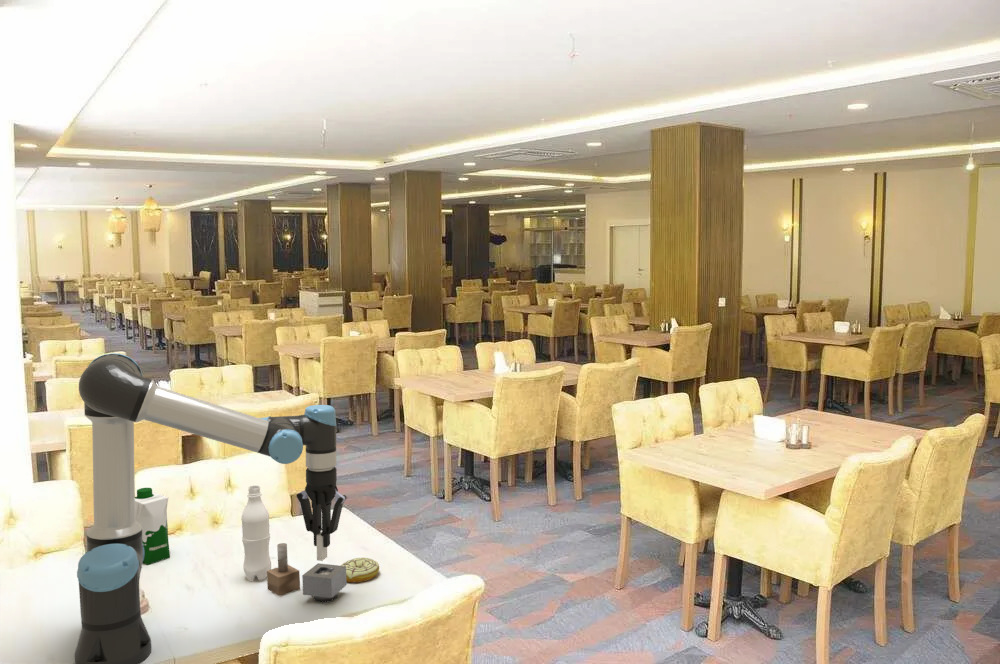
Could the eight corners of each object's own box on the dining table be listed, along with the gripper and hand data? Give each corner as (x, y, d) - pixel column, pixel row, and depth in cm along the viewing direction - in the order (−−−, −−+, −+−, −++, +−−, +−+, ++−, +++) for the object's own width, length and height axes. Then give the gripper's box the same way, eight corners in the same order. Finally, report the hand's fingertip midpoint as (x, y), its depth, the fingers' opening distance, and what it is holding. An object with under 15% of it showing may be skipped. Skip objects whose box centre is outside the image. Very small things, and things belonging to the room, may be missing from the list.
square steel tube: (346, 585, 208) (346, 566, 207) (331, 598, 200) (331, 578, 200) (318, 581, 210) (317, 563, 209) (303, 594, 202) (302, 575, 202)
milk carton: (158, 550, 238) (154, 484, 236) (175, 557, 233) (171, 489, 231) (129, 559, 231) (125, 491, 229) (146, 567, 226) (142, 497, 224)
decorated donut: (332, 575, 219) (331, 562, 219) (366, 565, 226) (366, 552, 226) (350, 587, 211) (349, 573, 211) (386, 577, 218) (385, 563, 218)
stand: (279, 596, 206) (277, 550, 205) (267, 589, 210) (265, 544, 209) (300, 589, 210) (298, 544, 209) (288, 582, 215) (286, 538, 213)
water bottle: (263, 583, 214) (259, 491, 211) (238, 581, 215) (234, 490, 213) (276, 572, 221) (272, 483, 218) (252, 571, 222) (248, 482, 220)
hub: (321, 604, 201) (320, 579, 200) (308, 597, 205) (308, 572, 205) (342, 597, 205) (341, 572, 205) (329, 590, 209) (328, 566, 209)
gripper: (351, 465, 204) (352, 556, 206) (305, 461, 207) (306, 550, 209) (337, 473, 196) (338, 567, 199) (290, 468, 200) (291, 561, 202)
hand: (322, 558), depth 204 cm, fingers closed
